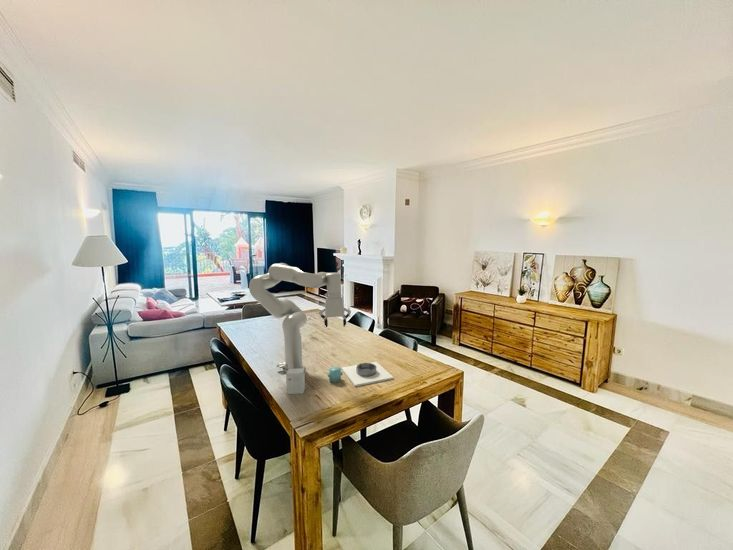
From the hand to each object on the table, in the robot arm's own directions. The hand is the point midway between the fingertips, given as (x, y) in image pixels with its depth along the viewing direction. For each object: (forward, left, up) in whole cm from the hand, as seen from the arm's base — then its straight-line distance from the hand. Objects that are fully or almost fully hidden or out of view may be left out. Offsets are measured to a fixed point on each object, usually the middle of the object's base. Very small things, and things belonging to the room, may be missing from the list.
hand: (335, 326), depth 163 cm
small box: (-24, -12, -27) cm, 38 cm away
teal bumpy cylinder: (-3, -8, -27) cm, 28 cm away
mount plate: (+15, -8, -27) cm, 32 cm away
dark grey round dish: (+15, -8, -27) cm, 32 cm away
